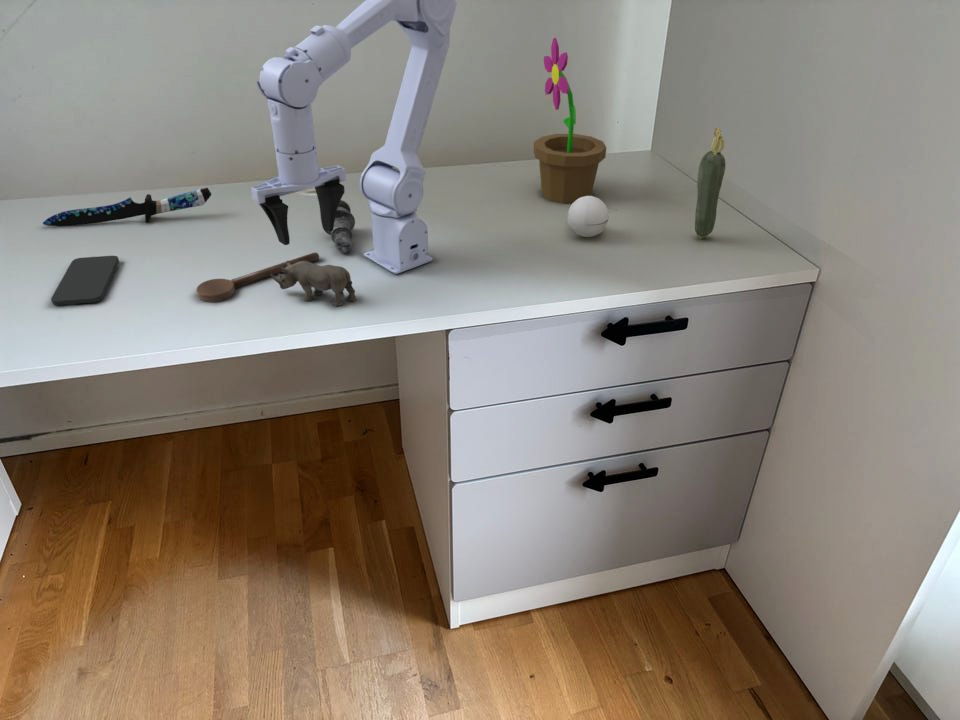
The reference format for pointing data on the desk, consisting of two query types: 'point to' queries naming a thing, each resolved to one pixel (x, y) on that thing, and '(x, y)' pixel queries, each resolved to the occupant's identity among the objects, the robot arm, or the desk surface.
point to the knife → (129, 209)
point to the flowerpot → (566, 145)
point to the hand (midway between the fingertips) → (306, 235)
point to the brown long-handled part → (242, 281)
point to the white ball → (588, 216)
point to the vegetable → (709, 186)
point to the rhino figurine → (317, 280)
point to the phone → (85, 280)
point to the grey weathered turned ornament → (342, 228)
